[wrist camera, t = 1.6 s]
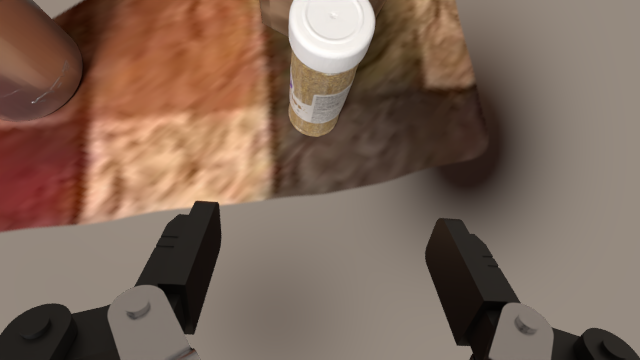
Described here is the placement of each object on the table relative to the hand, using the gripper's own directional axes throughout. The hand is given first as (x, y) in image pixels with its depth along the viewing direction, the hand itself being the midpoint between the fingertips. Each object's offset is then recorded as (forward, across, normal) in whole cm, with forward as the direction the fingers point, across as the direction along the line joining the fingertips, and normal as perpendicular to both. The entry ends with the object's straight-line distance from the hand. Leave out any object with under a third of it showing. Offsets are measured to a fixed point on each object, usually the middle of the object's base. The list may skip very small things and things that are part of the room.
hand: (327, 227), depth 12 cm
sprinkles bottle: (+19, 0, +4) cm, 20 cm away
